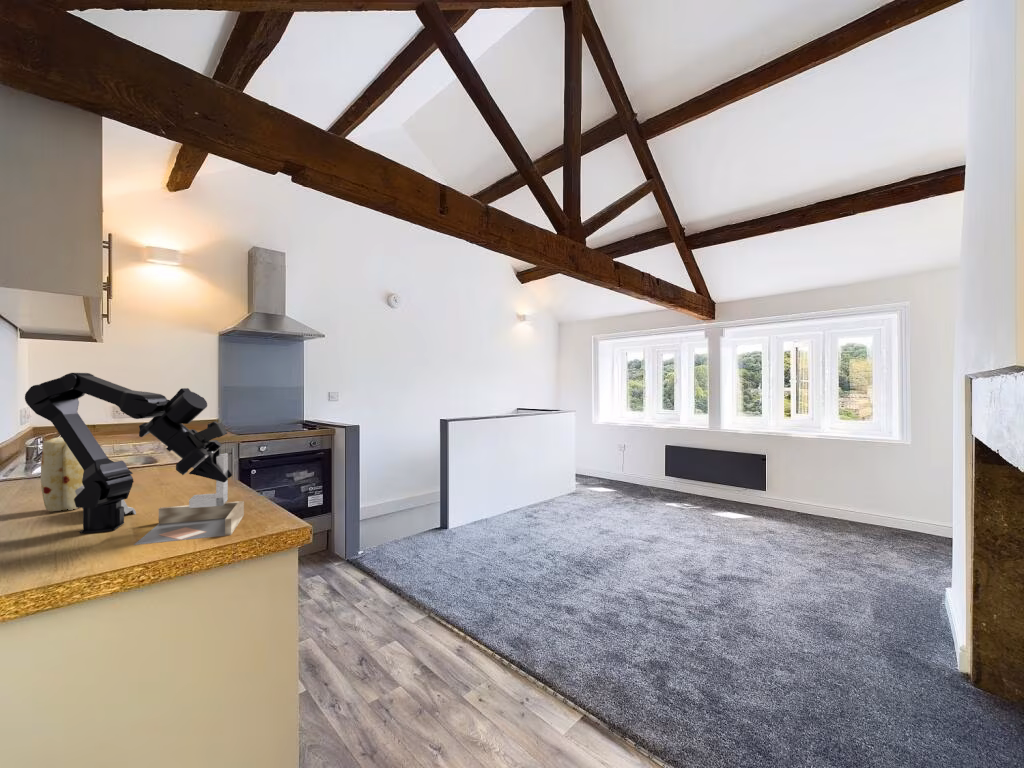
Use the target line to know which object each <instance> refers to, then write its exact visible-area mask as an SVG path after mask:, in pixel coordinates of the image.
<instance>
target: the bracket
mask: <svg viewBox="0 0 1024 768" xmlns="http://www.w3.org/2000/svg"><path fill="white" fill-rule="evenodd" d="M216 466H217V467H218V468H219V469H220V470H221V471H222V472H223V473H224V475H225V476H226V477H227V478H228V469H229V454H228V453H226V452H225V453H221V454H220V455H218V456H217V457H216ZM215 481H216V482H215V483H216V484H215V486H216V487H215V493H204V494H202V493H201V494H194V495H192V497H191V498H190V499H189V500H188V505H189V508H198V507H211V506H223V505H224V504H225V503H226V502H229V501H228V497H229V496H228V495H229V493H228V490H229V485H228V484H229V483H228V481H229V478H228V480H227V481H226V482H221V481H217V480H215Z"/></svg>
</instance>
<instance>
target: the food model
mask: <svg viewBox="0 0 1024 768" xmlns="http://www.w3.org/2000/svg"><path fill="white" fill-rule="evenodd" d="M42 445H43V446H42V452H41V453H42V454H41V462H40V484H41V487H40V488H41V493H42V494H41V495H42V501H43V504H44V507H45V510H46V511H47V512H60V511H61V510H63V511H74V510H73V509H75V510H77V509H78V508H77V507H76V505H75V502H74V498H75V497H76V496H77V495H76V493H75V490H76V489H78V488H79V487H81V486H83V483H82V479H83V473H84V470H83V468H82V467H81V465H80V464H79V462H78V461H77V459H76V458H75V456H74V455H73V453H72V452H71V450H70V449H69V447H68V446H67V444H66V443H65V441H64V440H63V438H62V437H61V436H60V437H53V438H50V439H48V440H46V441H44V442H43V444H42ZM67 509H68V510H67Z"/></svg>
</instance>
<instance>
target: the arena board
mask: <svg viewBox="0 0 1024 768" xmlns="http://www.w3.org/2000/svg"><path fill="white" fill-rule="evenodd" d="M225 519H226V518H219V519H208V520H197V521H186V522H175V523H164V524H159V523H158V524H156V526H154V527H153V528H152V529H150V531H148V532H147V533H146V534H145V535H144V536H143V537H141V538H140V539H139V540H138V541H136V542H135V543H134V544H133V546H137V545H138V546H139V545H148V544H149V545H150V544H156V543H157V544H158V543H167V542H176V541H177V542H179V541H185V540H186V541H187V540H197V539H209V538H215V537H216V538H217V537H224V536H225ZM241 521H242V519H241V520H240V522H241ZM234 531H235V530H234ZM234 531H233V533H234ZM227 536H228V535H226V536H225V537H227Z"/></svg>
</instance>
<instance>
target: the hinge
mask: <svg viewBox="0 0 1024 768" xmlns="http://www.w3.org/2000/svg"><path fill="white" fill-rule="evenodd" d="M83 489H84V486H81V487H79V488H78V489H76V490H75V493H76V495H78V494H79V493H80V492H81V491H82V490H83ZM121 506H123V507H124V515H127V514H131V513H132V514H131V515H137V514H136V513H137V512H136V509H135V508H134V507H131V506H128V504H127V502H126V501H125V499H123V500H121Z"/></svg>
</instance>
